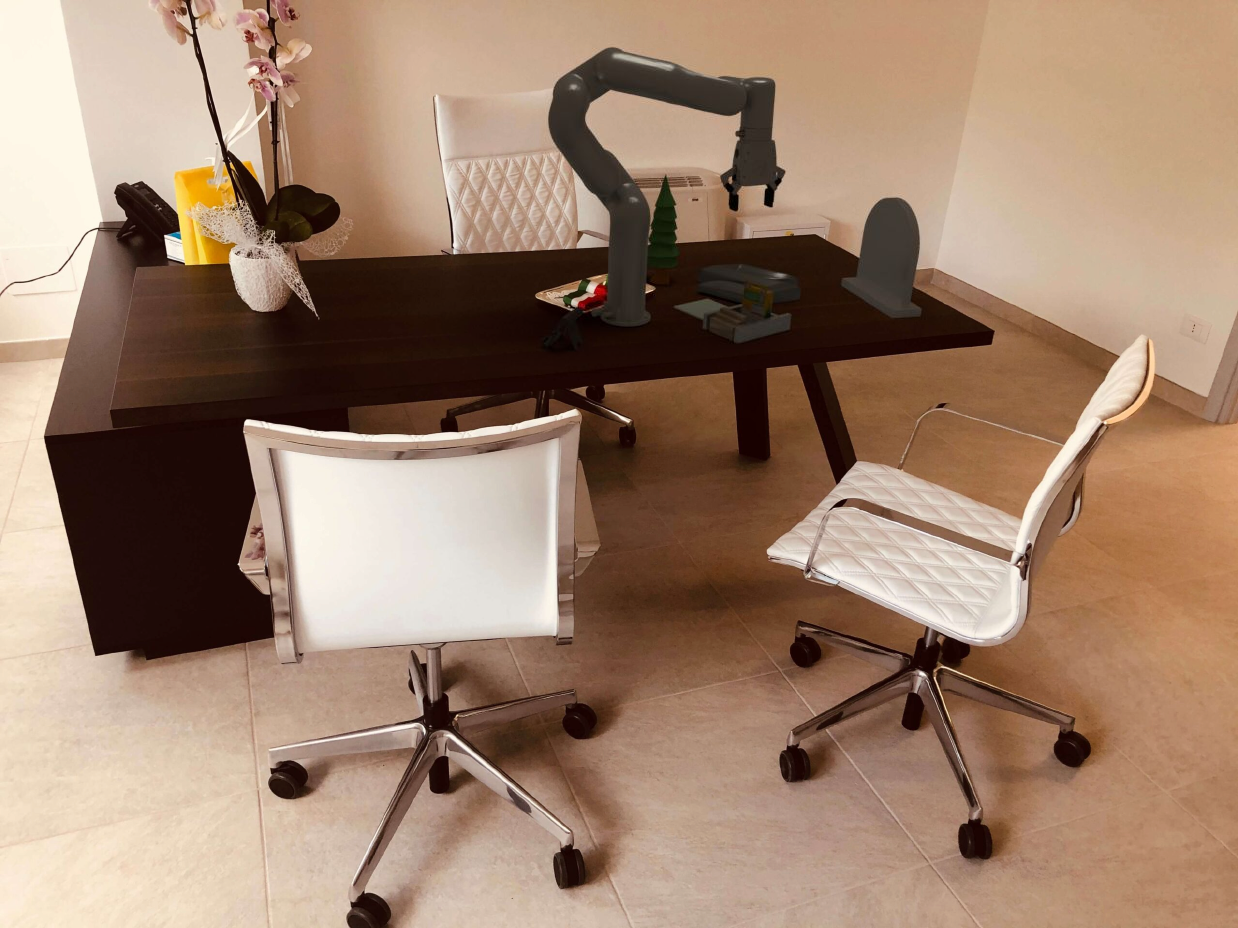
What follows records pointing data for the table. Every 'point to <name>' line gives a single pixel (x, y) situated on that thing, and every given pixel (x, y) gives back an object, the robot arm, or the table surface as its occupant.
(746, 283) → the crayon box
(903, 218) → the gray tombstone
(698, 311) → the mat
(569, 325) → the portable electronic device stand
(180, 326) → the table surface
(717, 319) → the offcut stack
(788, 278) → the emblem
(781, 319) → the rack
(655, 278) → the decorative tree
